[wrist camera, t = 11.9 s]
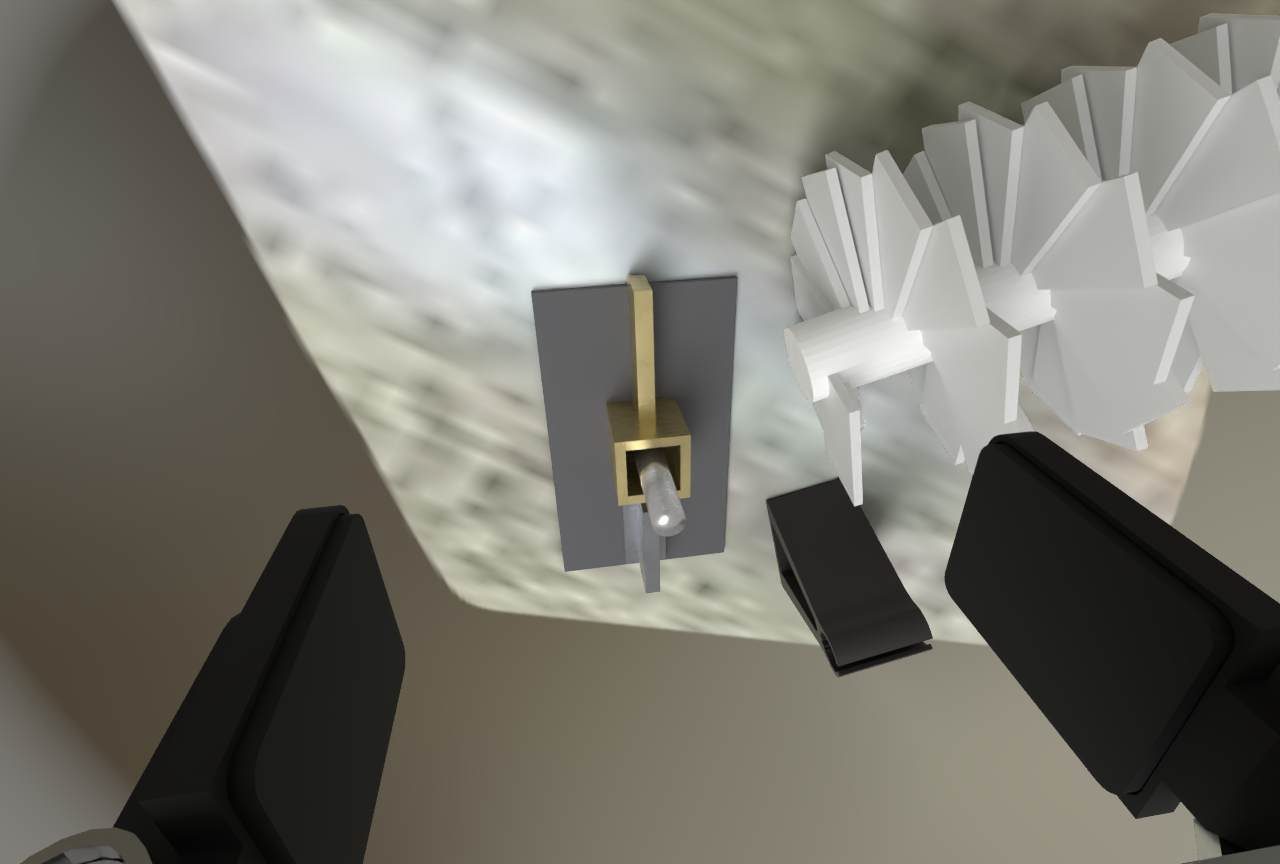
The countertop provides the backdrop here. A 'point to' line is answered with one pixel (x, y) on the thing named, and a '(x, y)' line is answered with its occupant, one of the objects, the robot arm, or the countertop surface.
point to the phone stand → (843, 580)
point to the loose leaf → (645, 409)
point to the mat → (601, 373)
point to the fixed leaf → (652, 516)
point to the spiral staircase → (1055, 253)
